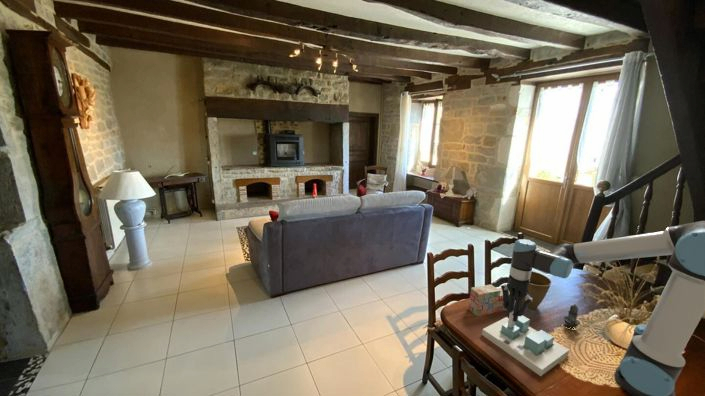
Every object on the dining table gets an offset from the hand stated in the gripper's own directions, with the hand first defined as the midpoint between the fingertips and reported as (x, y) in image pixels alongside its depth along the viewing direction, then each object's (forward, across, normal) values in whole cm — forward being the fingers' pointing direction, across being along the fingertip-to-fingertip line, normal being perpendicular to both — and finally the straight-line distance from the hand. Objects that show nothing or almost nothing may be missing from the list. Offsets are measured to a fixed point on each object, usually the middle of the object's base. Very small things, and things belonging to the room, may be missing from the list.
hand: (510, 325), depth 124 cm
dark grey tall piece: (+7, -9, -33) cm, 35 cm away
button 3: (+4, -10, 0) cm, 11 cm away
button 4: (+5, -10, -7) cm, 13 cm away
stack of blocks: (+7, +18, -12) cm, 23 cm away
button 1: (+5, 0, 0) cm, 5 cm away
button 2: (+4, 0, -7) cm, 8 cm away
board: (+7, -5, -2) cm, 9 cm away
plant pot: (+7, +10, -33) cm, 35 cm away
